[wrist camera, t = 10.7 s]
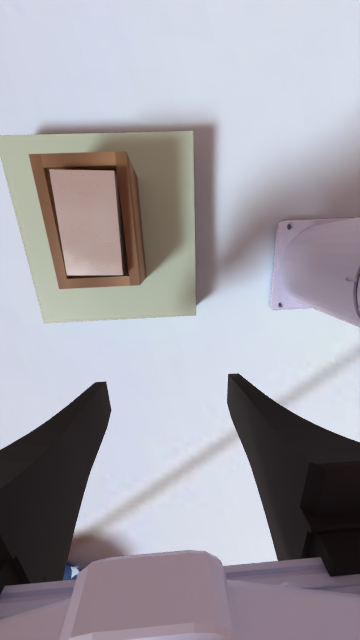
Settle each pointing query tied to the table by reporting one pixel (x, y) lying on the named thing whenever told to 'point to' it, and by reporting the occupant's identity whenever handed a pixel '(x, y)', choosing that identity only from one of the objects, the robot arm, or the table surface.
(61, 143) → the stand
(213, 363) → the table surface
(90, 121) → the table surface
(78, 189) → the lid plate
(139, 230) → the brown box
